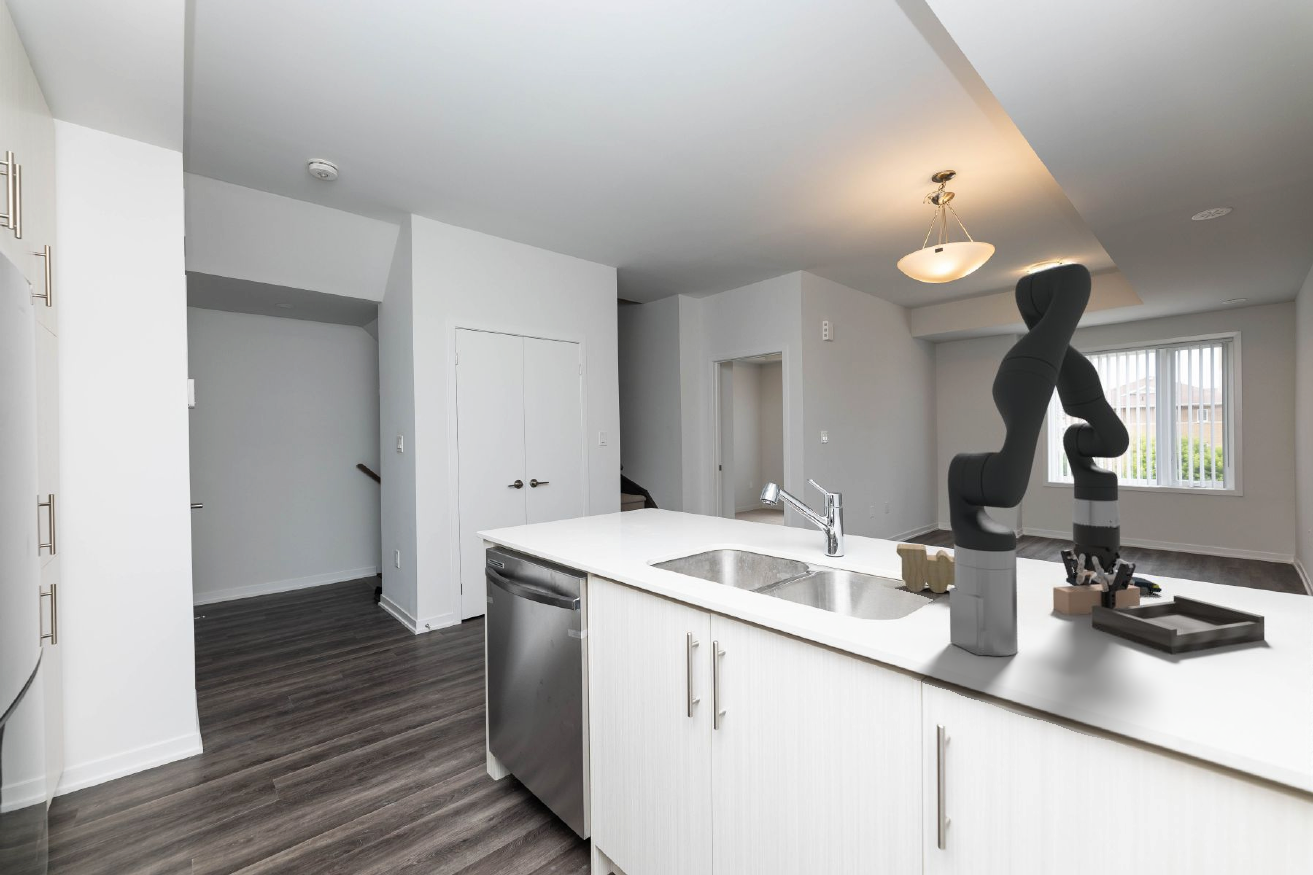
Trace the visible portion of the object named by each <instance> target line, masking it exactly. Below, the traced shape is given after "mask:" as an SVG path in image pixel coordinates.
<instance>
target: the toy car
mask: <svg viewBox="0 0 1313 875" xmlns="http://www.w3.org/2000/svg"><path fill="white" fill-rule="evenodd" d="M1107 574H1108V573H1105V575H1107ZM1116 574H1117V571H1116ZM1065 582H1066V583H1068V584H1069V585H1070V586H1078V584H1077V583H1076V581H1075V580H1073V579H1069V578H1068V577H1066V578H1065ZM1097 584H1101V581H1100V580H1099V579H1098V577H1097V573H1096V572H1095V573H1094V574H1093V575H1092V579H1091V583H1089V585H1097ZM1129 585H1132V586H1136V587H1139V588H1140V595H1143V594H1144V596H1145V595H1149V594H1150V593H1162V588H1160V585H1159V584H1158V583H1155V582H1152V581H1150V580H1149V579H1148V580H1147V579H1146V578H1143V577H1138V576H1132V578H1131V580H1130V583H1129Z"/></svg>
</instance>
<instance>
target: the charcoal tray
mask: <svg viewBox="0 0 1313 875" xmlns="http://www.w3.org/2000/svg"><path fill="white" fill-rule="evenodd" d="M1091 615H1092V618H1091V619H1092V620H1091V621H1092V622H1091V624H1092V626H1091V628H1092V627H1093V629H1096V630H1098V629H1099V630H1098V631H1101V632H1103V633H1107V634H1110V635H1113V636H1116V637H1118V638H1123V639H1125V640H1128V641H1131V642H1134V643H1137V644H1140V645H1143V646H1147V647H1148V648H1151V649H1154V650H1155V649H1156V650H1158V651H1160V650H1162V651H1161V652H1163V651H1164V653H1166V654H1169V653H1170V655H1176V654H1175V653H1177V654H1182V653H1188V652H1194V651H1193V650H1195V651H1200V650H1206V649H1212V648H1220V647H1225V646H1233V645H1239V644H1245V643H1251V642H1257V641H1264V640H1265V616H1264V615H1260V614H1257V613H1252V612H1248V611H1244V610H1240V609H1236V608H1233V607H1232V608H1231V607H1227V606H1225V605H1219V604H1216V603H1211V602H1207V601H1202V600H1199V599H1195V598H1191V597H1187V596H1182V595H1178V594H1177V595H1173V600H1171V601H1164V602H1163V601H1161V602H1156V603H1155V602H1154V603H1147V604H1140V605H1138V606H1130V607H1123V608H1115V609H1108V608H1104V607H1101V606H1098V605H1096V606H1092V613H1091Z"/></svg>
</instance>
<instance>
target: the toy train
mask: <svg viewBox="0 0 1313 875" xmlns="http://www.w3.org/2000/svg"><path fill="white" fill-rule="evenodd" d="M896 553H897V555H898V556H899V557H900V558H901V579H902V581H904V582H905V586H906V588H907V590H909V591H911V592H912V593H919V592H922V591H923V590H924V589H925V588H926V585H927V586H928V587H929V589H930V590H931V591H932V592H934V593H936V594H942V593H945V592H946V590H948V587H949V586H953V587H955V579H954V556H951V555H949V554H948V553H947V552H946V551H945V550H943V549H939V550H938V551H937V552H936V554H935V555H934V554H928V553H927V547H926V545H925V544H916V543H915V544H913V543H911V544H910V543H898V544H897V546H896Z"/></svg>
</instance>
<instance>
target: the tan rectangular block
mask: <svg viewBox="0 0 1313 875" xmlns="http://www.w3.org/2000/svg"><path fill="white" fill-rule="evenodd" d="M1052 589H1053V590H1052V594H1053V595H1052V596H1053V610H1055V611H1057V612H1059V613H1062V614H1064V613H1065V614H1064V615H1067V616H1076V615H1085V614H1084V613H1091V614H1092V606H1096V605H1098V606H1101V607H1102V591H1104V590H1103V589H1102V585H1101V584H1097V585H1082V586H1073V585H1069V586H1056V587H1055V586H1053V588H1052ZM1138 605H1141V594H1140V588H1139V587H1136V586H1132V585H1128V588H1127V590H1119V591H1116V606H1115V608H1123V607H1130V606H1138ZM1115 608H1114V609H1115ZM1075 614H1076V615H1075Z"/></svg>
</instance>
